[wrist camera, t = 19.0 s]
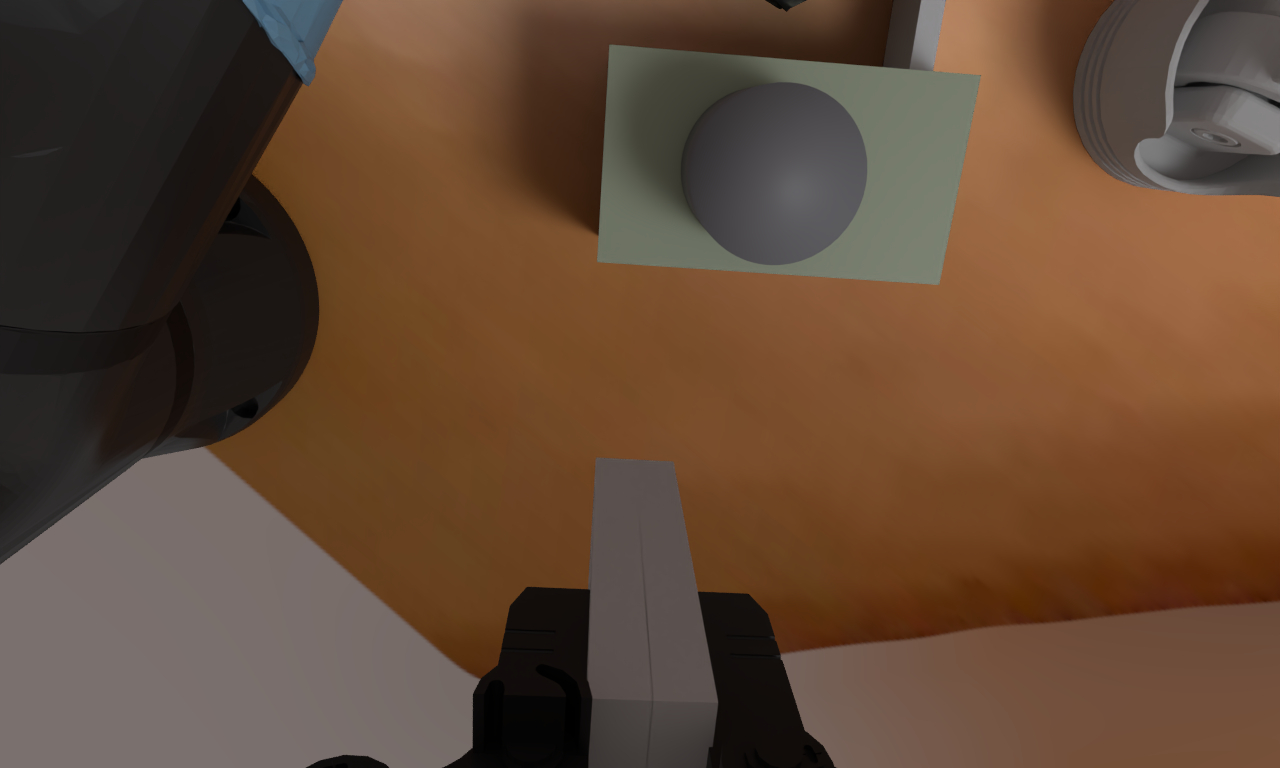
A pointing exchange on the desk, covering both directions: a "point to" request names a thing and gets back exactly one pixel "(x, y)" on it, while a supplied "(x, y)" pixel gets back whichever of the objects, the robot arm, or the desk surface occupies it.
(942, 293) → the desk surface
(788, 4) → the battery
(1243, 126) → the engine component
